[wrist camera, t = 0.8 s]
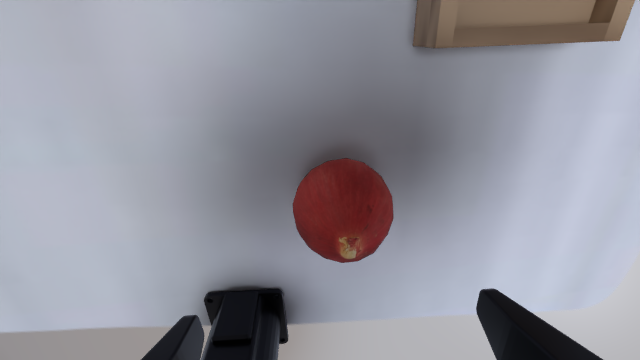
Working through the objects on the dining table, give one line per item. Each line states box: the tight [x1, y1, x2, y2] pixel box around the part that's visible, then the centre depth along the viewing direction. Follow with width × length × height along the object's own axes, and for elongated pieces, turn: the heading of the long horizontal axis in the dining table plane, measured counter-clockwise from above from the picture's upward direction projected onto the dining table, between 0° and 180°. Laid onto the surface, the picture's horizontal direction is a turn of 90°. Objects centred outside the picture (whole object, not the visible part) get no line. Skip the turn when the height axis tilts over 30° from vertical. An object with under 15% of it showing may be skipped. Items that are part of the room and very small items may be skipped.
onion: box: [293, 158, 393, 263], centre depth 17 cm, size 6×6×8 cm
